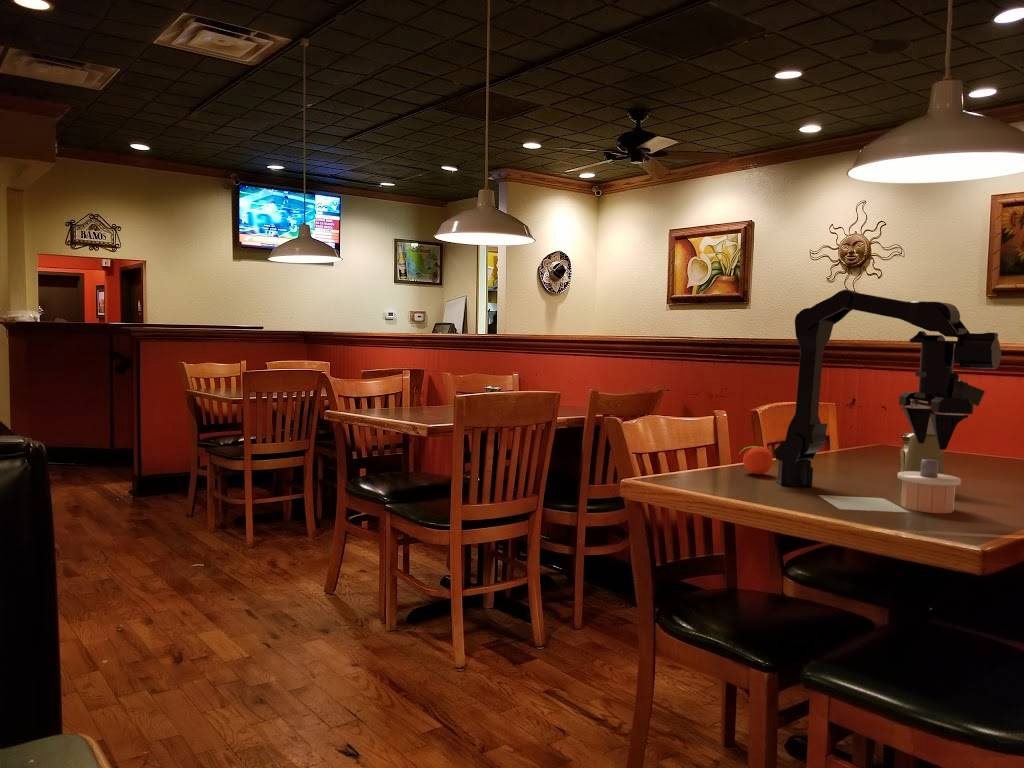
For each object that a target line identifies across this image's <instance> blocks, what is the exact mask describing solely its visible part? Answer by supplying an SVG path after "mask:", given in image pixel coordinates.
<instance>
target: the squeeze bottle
mask: <svg viewBox="0 0 1024 768" xmlns="http://www.w3.org/2000/svg"><path fill="white" fill-rule="evenodd" d="M943 451H944V450H940V449H939V446H938V443H937V440H936V436H935V432H934V428H933V424H932V420H931V416H930V418H929V423H928V428H927V434H926V438H925V442H924V443H918V442H917V439H916V437H915V435H914V434H912V435H910V437H909V441H908V447H907V454H906V458H905V459H906V460H905V463H904V469H903V470H904V471H916V472H920V471H921V459H932V460H938V461H939V462H938V474H945V473H944V452H943ZM904 471H903V472H904Z"/></svg>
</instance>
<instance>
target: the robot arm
mask: <svg viewBox="0 0 1024 768" xmlns="http://www.w3.org/2000/svg"><path fill="white" fill-rule="evenodd" d="M851 311H858V312H864V313H869V314H873V315H877V316H878V315H879V316H883V317H888V318H893V319H898V320H901V321H904V322H906V323H908V324H910V325H913V326H915V327H918V328H921V329H923V330H926V331H928V332H933V333H934V332H935V333H937V332H938V333H939V334H927V333H926V332H925V331H923V330H919V331H918V332H917V334H915V335H914V336H912V337H911V338H910V339H909V343H911V344H912V343H915V344H920V356H919V357H920V360H919V370H915V374H914V376H915V377H919V378H918V391H903V392H902V393H901V394H900V395H898V405H899V406H902V407H901V410H902V411H903V412H904V415H905V417H906V419H907V421H908V423H909V425H910V428H911V429H912V433H913V435H915V437H916V439H917V442H918V443H924V442H925V438H926V434H927V428H928V423H929V418H930V416H931V420H932V424H933V428H934V432H935V436H936V440H937V443H938V446H939V449H940V450H943V451H945V450H947V448H948V446H949V443H950V441H951V438H952V437H953V433H954V432H955V429H956V427H957V425H958V424H959V423H960V422H961V421H963V420H964V419H968V418H970V415H974V410H975V408H974V407H979V406H980V404H981V402H982V399H983V398H984V397H983V396H984V395H985V392H986V391H985V390H983V389H981V388H978V387H976V386H973V385H970V384H969V383H968V382H967V381H962V379H959V377H960V376H959V374H958V372H954V362H955V363H958V364H959V366H960V368H962V369H981V370H997V369H998V368H999V366H1000V364H1001V359H1002V349H1001V343H1000V340H999V339H998V338H999V333H998V332H983V333H977V332H976V333H971V332H970V331H969V330H968V328H967V326H966V325H965V324H964V323H963V321H962V320H961V314H960V310H959V309H958V308H957V306H956V305H954V304H951V303H949V302H948V303H947V302H941V301H905V300H899V299H895V298H894V299H893V298H889V297H882V296H877V295H871V294H866V293H861V292H858V291H856V290H850V289H841V290H839V291H838V292H836V293H835V294H833V295H832V296H830V297H828V298H826V299H825V300H822V301H820V302H817V303H816V304H814V305H813V306H812V307H807V308H803V309H801V310H800V311H799V312H797V313H796V316H795V317H794V331H795V337H796V341H797V343H798V346H799V349H800V352H799V362H798V363H799V365H798V377H797V388H796V389H797V390H796V399H795V412H794V415H793V417H792V419H791V421H790V423H789V424H788V428H787V431H786V435H785V440H784V441H783V442H782V443H781V444H780V445H778V446H777V447H776V448H775V449H774V450H773V455H774V458H775V460H777V461H778V466H777V467H778V469H777V480H776V481H775V483H776V484H777V485H779V486H781V487H782V488H796V489H797V488H798V489H799V488H801V489H812V488H813V487H812V486H813V479H814V478H813V477H814V468H813V466H812V460H814V459H815V457H816V454H817V453H818V452H819V451H820V450H821V449H823V446H824V443H826V442H828V441H827V434H826V433H827V430H828V423H826V422H825V423H824V422H821V419H820V417H819V409H820V408H819V407H820V396H821V395H820V394H821V384H822V383H821V382H822V373H823V372H822V371H823V362H824V361H823V359H824V350H825V348H826V347H827V344H828V343H829V340H830V338H831V335H832V332H833V328H834V325H835V324H837V323H839V322H840V321H842V320H843V319H844V318H845V317H846V316H847V315H848V314H849V313H851ZM945 337H948V338H949V337H950V338H957V340H946V339H945Z"/></svg>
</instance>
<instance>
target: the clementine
mask: <svg viewBox="0 0 1024 768" xmlns="http://www.w3.org/2000/svg"><path fill="white" fill-rule="evenodd" d="M745 449H747V450H746V451H745V453H744V454H743V458H742V459H743V466H744V468H745V470H747V471H748V472H749V473H751V474H753V475H756V476H757V475H758V476H760V475H765V474H766V473H768V472H770V470H771V468H772V466H773V463H774V461H773V460H774V459H773V454H772V453H771V452H770V450H768V449H767V448H766V447H765V446H764V447H763V446H760V445H756V446H755V445H752V446H747V447H744V448H743V449H742V450H741V451H740V452H739V454H741V452H742V451H744V450H745Z"/></svg>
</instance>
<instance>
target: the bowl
mask: <svg viewBox="0 0 1024 768" xmlns="http://www.w3.org/2000/svg"><path fill="white" fill-rule="evenodd" d="M901 481H902V482H901V483H902V484H901V495H900V507H902V508H905V509H906V510H907V509H908V510H912V511H916V512H923V513H930V514H932V513H933V514H951V513H954V509H955V498H956V497H955V495H956V486H938V485H927V484H919V483H913V482H908V481H904V480H901Z"/></svg>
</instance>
